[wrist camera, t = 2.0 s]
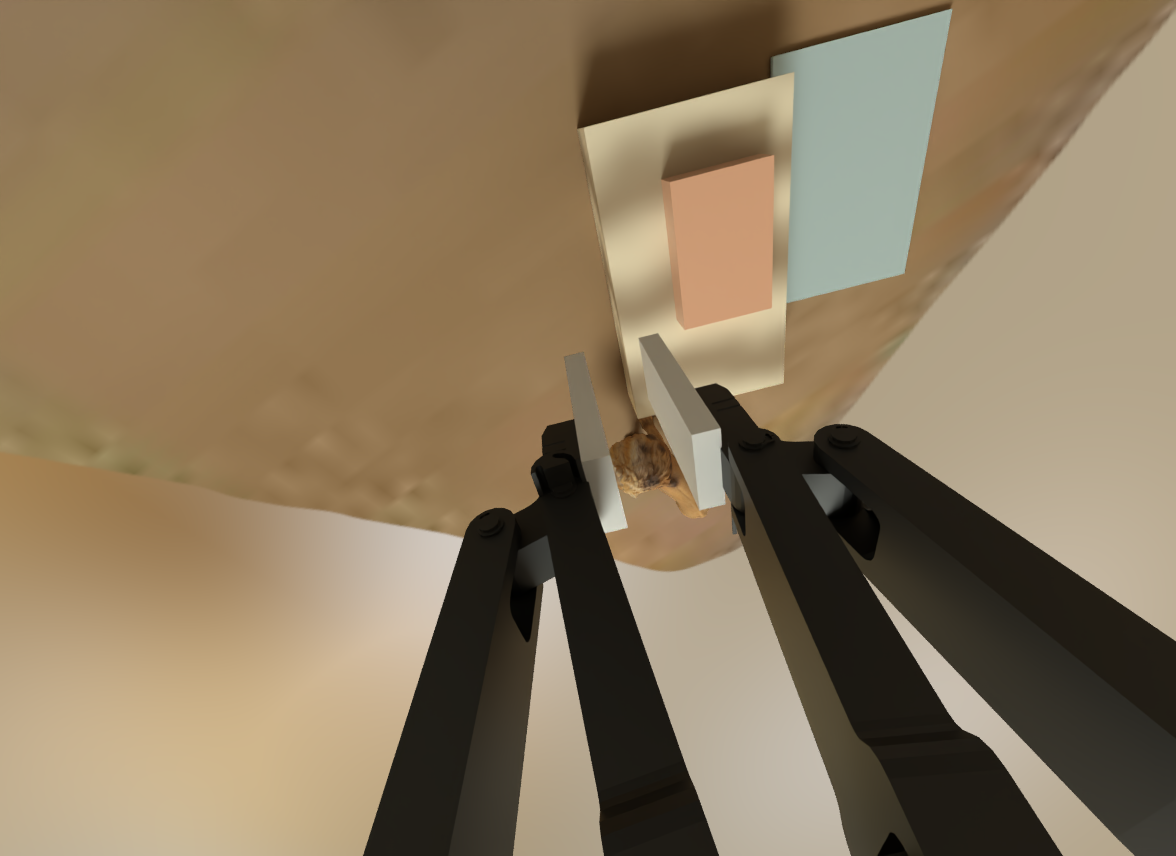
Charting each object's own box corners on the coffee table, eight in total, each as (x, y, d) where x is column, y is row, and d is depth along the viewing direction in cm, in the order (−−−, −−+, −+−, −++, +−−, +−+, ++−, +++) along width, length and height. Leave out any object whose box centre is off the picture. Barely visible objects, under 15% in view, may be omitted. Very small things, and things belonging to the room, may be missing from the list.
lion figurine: (582, 434, 41) (594, 500, 34) (618, 391, 39) (639, 452, 32) (693, 496, 47) (724, 564, 40) (729, 462, 45) (769, 527, 38)
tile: (661, 179, 27) (669, 182, 25) (758, 153, 27) (774, 154, 25) (676, 320, 32) (684, 330, 30) (759, 299, 32) (771, 308, 30)
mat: (770, 57, 27) (772, 56, 27) (948, 9, 27) (952, 8, 27) (768, 306, 36) (769, 307, 36) (901, 272, 36) (904, 273, 36)
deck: (577, 128, 28) (583, 128, 25) (762, 79, 28) (794, 71, 25) (628, 395, 39) (637, 419, 36) (761, 362, 39) (783, 383, 36)
